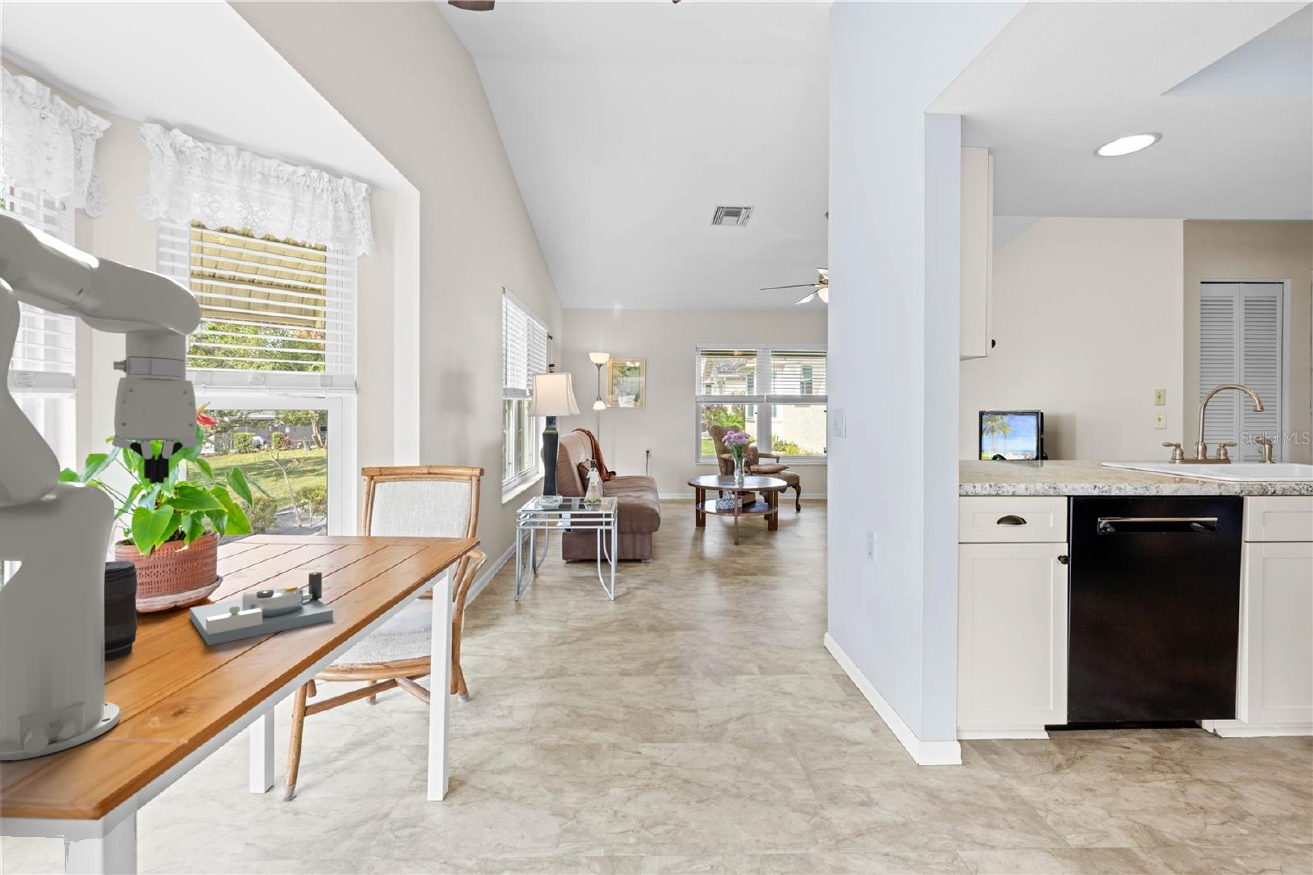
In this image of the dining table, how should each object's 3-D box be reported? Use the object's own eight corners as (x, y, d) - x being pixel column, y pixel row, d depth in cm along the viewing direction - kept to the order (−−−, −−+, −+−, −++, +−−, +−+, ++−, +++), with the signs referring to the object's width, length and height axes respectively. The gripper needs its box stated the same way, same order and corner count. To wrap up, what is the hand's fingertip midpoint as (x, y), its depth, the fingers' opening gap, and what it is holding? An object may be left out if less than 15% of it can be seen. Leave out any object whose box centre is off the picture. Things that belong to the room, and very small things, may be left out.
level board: (333, 620, 118) (333, 590, 118) (208, 645, 103) (208, 611, 103) (303, 598, 132) (303, 571, 132) (189, 618, 118) (189, 588, 117)
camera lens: (61, 659, 97) (61, 568, 96) (124, 643, 104) (124, 558, 104) (83, 669, 93) (82, 574, 93) (146, 652, 100) (146, 564, 100)
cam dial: (260, 620, 110) (261, 592, 110) (231, 611, 115) (231, 585, 115) (335, 600, 123) (335, 575, 123) (306, 593, 128) (306, 569, 128)
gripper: (94, 365, 89) (94, 487, 89) (216, 373, 100) (216, 482, 100) (92, 368, 94) (92, 483, 95) (208, 375, 105) (208, 478, 105)
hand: (156, 482), depth 97 cm, fingers closed
